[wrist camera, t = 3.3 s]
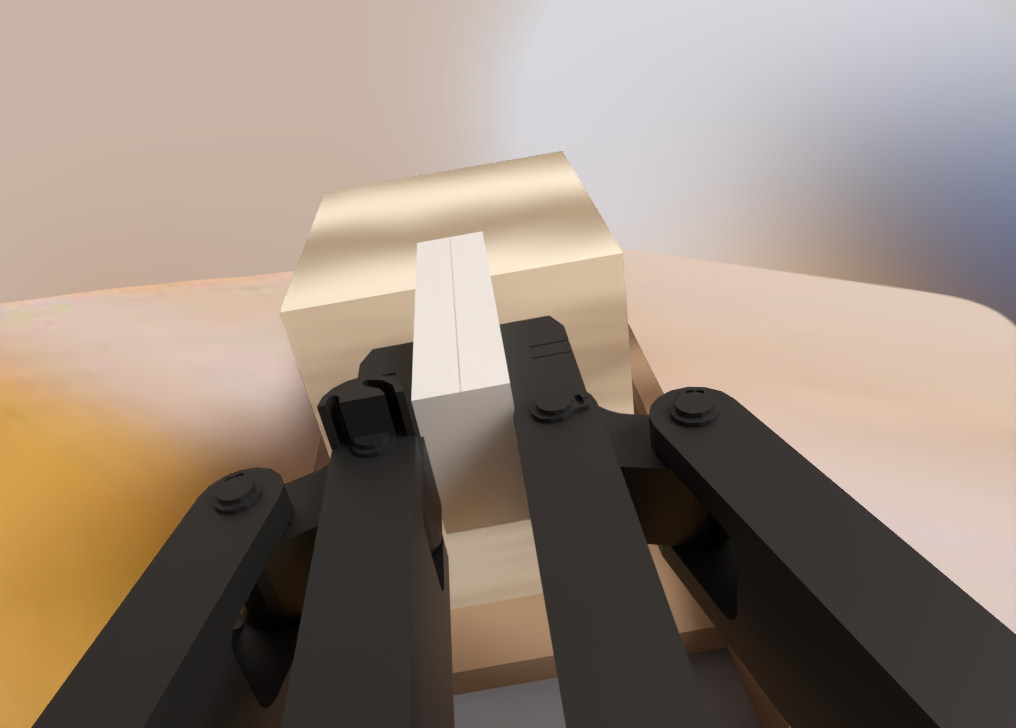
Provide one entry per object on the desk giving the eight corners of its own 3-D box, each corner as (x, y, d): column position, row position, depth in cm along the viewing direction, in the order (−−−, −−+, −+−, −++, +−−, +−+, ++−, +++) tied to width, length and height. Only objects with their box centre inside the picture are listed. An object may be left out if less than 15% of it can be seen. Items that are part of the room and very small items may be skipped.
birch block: (396, 444, 34) (325, 191, 28) (590, 410, 34) (562, 151, 28) (386, 621, 25) (279, 312, 19) (645, 575, 25) (623, 252, 19)
